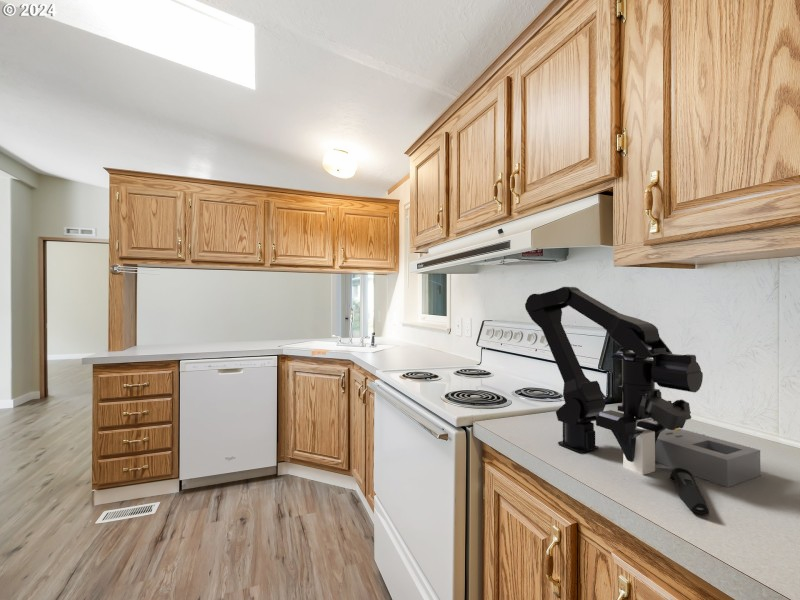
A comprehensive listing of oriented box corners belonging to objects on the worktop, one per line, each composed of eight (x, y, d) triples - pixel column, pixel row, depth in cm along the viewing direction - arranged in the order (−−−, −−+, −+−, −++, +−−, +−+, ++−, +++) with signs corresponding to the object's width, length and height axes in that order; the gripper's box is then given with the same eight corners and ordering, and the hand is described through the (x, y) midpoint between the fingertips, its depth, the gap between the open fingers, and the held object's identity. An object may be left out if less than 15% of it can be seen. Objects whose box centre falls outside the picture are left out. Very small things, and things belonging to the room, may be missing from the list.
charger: (623, 467, 79) (623, 427, 79) (635, 463, 81) (635, 425, 81) (642, 474, 76) (642, 433, 76) (655, 471, 77) (654, 430, 77)
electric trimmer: (685, 519, 61) (685, 499, 61) (668, 478, 74) (668, 462, 74) (715, 525, 59) (715, 505, 59) (692, 483, 73) (692, 466, 73)
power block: (641, 456, 85) (641, 433, 85) (673, 448, 90) (673, 426, 90) (727, 487, 70) (727, 458, 70) (760, 475, 75) (760, 448, 76)
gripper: (649, 395, 67) (650, 484, 67) (708, 386, 75) (709, 466, 75) (593, 383, 77) (594, 461, 77) (651, 377, 85) (651, 447, 85)
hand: (638, 459), depth 78 cm, fingers open, 5 cm apart
